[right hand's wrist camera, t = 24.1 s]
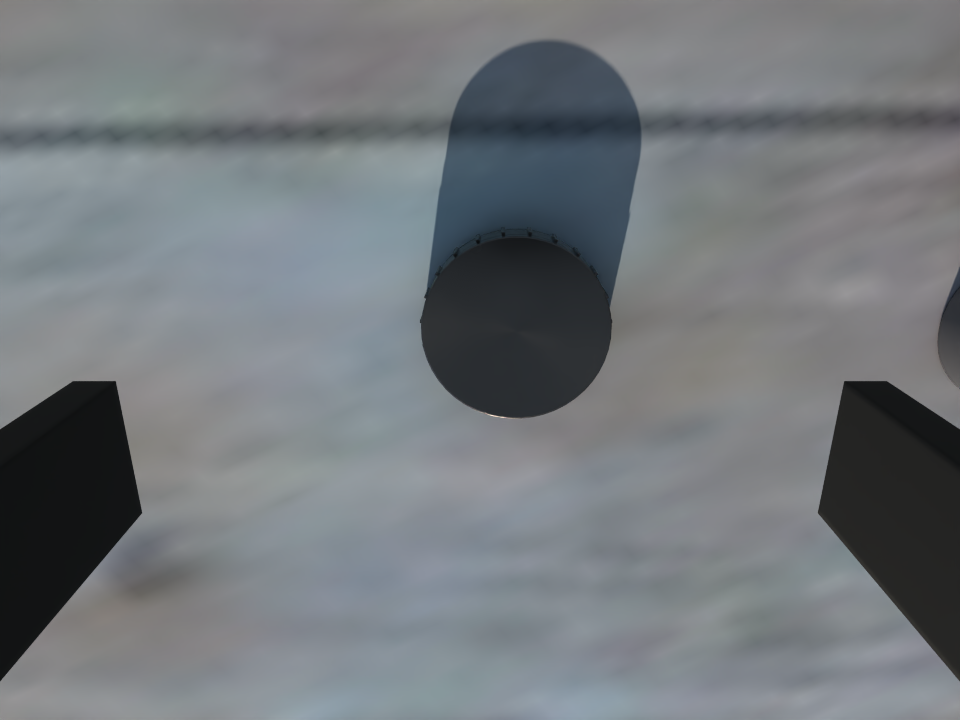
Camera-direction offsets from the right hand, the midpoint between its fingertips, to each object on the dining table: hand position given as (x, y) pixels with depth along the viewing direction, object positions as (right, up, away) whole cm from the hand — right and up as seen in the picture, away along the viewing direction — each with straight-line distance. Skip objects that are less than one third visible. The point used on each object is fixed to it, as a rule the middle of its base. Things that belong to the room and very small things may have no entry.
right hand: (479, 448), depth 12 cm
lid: (+1, +3, +9) cm, 10 cm away
